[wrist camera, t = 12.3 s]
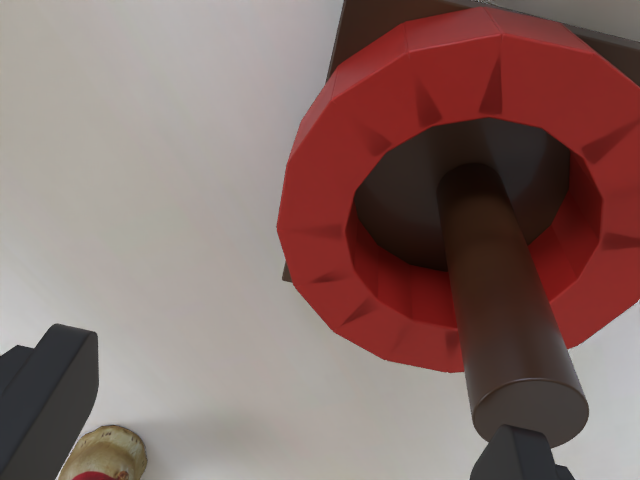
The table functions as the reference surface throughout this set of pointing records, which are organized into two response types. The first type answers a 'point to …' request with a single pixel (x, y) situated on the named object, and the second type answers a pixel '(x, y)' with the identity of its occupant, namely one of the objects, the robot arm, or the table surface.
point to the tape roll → (451, 107)
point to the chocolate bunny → (106, 456)
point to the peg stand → (481, 232)
